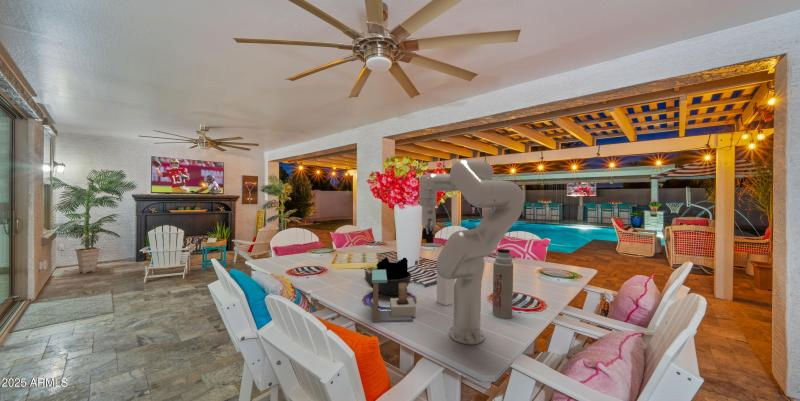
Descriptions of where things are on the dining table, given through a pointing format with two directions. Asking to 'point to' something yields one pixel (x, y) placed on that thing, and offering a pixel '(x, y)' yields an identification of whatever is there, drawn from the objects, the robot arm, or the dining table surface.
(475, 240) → the robot arm
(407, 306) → the socket station
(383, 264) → the coal bowl
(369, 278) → the juice carton
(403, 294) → the peg
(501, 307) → the thermos bottle
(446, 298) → the milk
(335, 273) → the dining table surface
